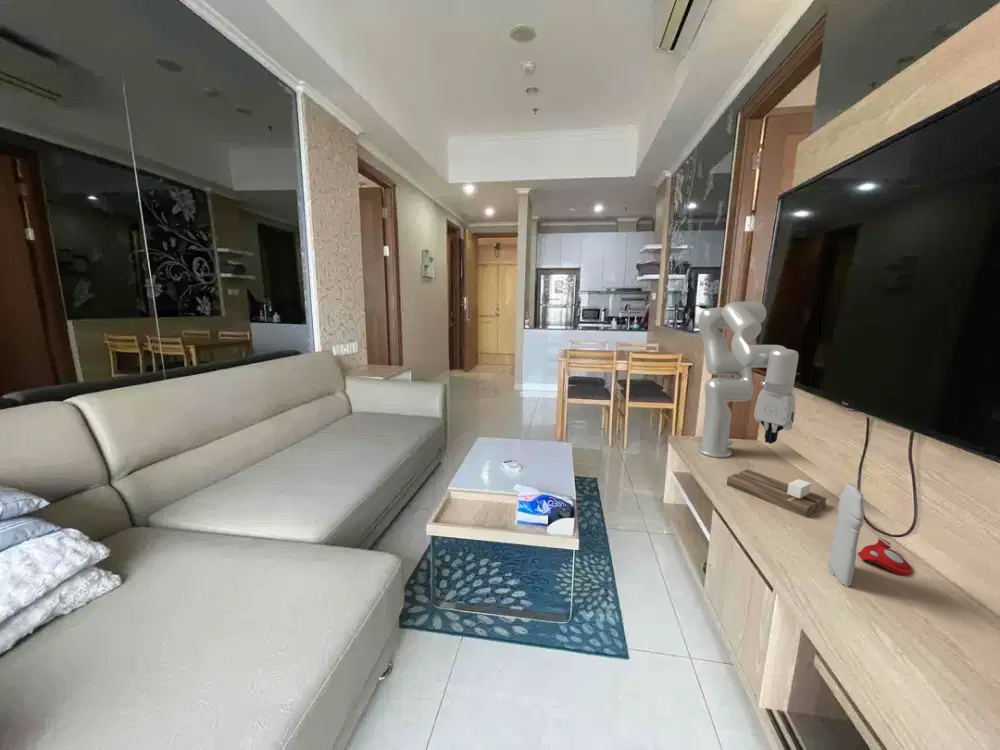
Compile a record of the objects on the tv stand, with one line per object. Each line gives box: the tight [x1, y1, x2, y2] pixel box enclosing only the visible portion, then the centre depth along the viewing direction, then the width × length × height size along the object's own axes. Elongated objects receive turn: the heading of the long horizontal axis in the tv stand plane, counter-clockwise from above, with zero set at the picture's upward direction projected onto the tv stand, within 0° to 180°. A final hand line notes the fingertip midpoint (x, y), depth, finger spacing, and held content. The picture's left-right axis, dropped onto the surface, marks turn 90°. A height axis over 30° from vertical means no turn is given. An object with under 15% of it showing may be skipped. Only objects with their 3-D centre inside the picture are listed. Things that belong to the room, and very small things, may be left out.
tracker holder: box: [857, 536, 913, 576], centre depth 100 cm, size 12×4×10 cm
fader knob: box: [787, 478, 812, 498], centre depth 126 cm, size 6×4×5 cm, turn 120°
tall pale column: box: [828, 482, 865, 587], centre depth 93 cm, size 11×4×22 cm, turn 157°
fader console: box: [726, 468, 827, 518], centre depth 132 cm, size 12×24×3 cm, turn 30°
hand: (770, 442), depth 132 cm, fingers closed
